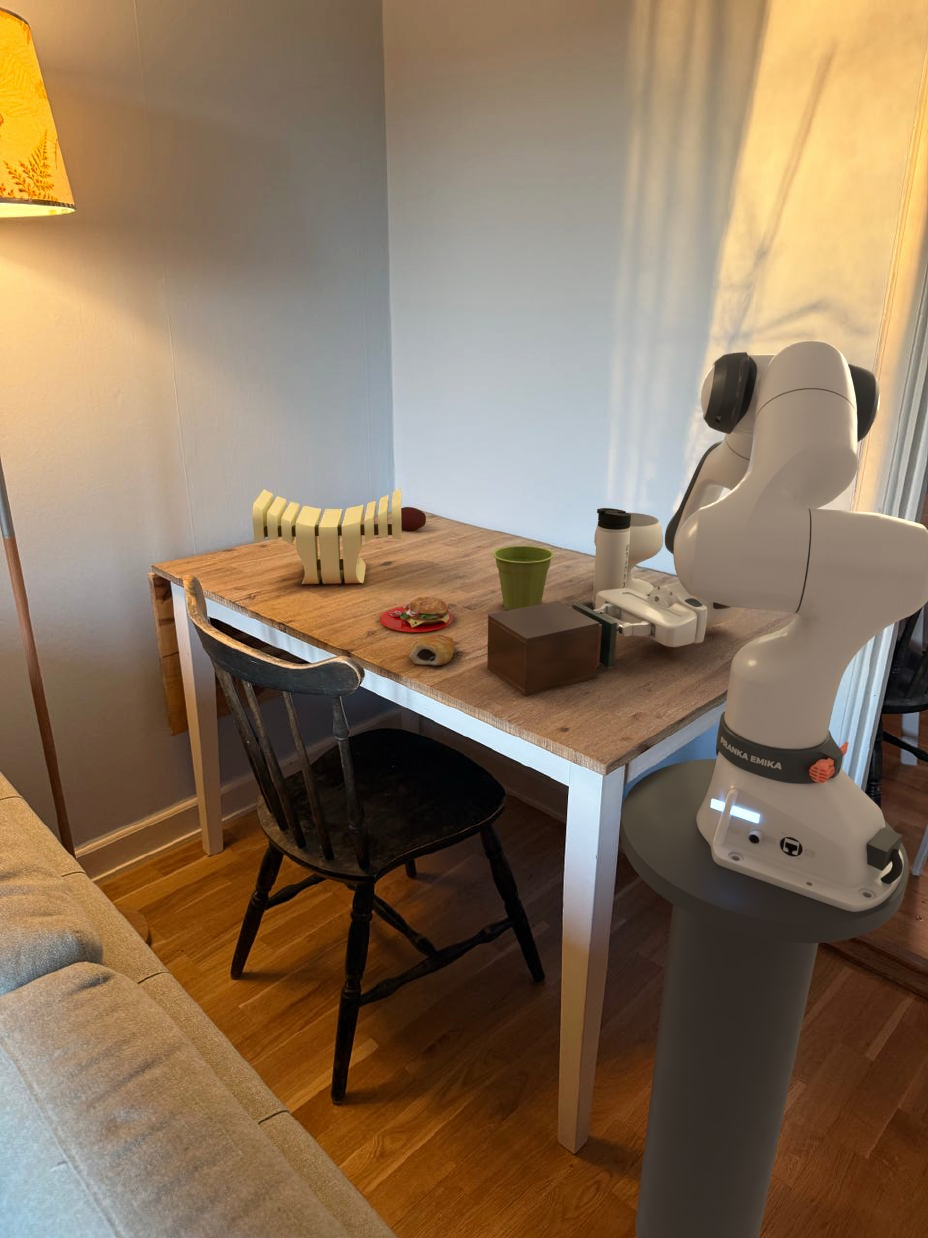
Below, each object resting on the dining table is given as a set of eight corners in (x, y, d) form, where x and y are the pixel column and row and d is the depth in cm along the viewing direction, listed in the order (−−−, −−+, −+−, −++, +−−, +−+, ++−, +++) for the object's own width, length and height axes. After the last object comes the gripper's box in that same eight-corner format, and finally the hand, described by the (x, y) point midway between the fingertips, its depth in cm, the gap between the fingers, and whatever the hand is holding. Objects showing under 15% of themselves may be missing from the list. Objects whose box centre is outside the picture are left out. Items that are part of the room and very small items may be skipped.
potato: (411, 524, 223) (411, 502, 221) (431, 530, 216) (431, 508, 214) (388, 528, 218) (388, 506, 216) (409, 535, 212) (408, 512, 210)
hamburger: (439, 603, 165) (438, 574, 163) (464, 627, 153) (464, 597, 151) (371, 612, 161) (370, 582, 158) (391, 638, 148) (390, 606, 146)
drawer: (596, 640, 145) (598, 598, 143) (634, 661, 137) (638, 617, 134) (515, 658, 138) (516, 615, 135) (550, 682, 129) (552, 636, 127)
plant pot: (556, 600, 167) (558, 547, 163) (545, 621, 156) (548, 564, 152) (499, 595, 170) (500, 542, 166) (485, 615, 159) (486, 559, 155)
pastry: (427, 643, 146) (427, 623, 145) (463, 648, 144) (464, 628, 143) (407, 664, 138) (407, 643, 136) (445, 670, 136) (445, 648, 134)
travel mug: (585, 604, 165) (591, 506, 158) (615, 600, 167) (622, 503, 160) (599, 614, 160) (605, 513, 152) (629, 611, 161) (637, 511, 154)
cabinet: (554, 652, 143) (557, 600, 139) (596, 678, 133) (599, 622, 130) (487, 668, 136) (487, 614, 133) (525, 696, 127) (526, 638, 123)
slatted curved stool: (259, 589, 173) (251, 506, 166) (270, 566, 187) (263, 489, 181) (402, 587, 174) (400, 504, 168) (403, 564, 189) (400, 487, 183)
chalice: (654, 603, 166) (661, 530, 160) (585, 595, 170) (589, 524, 164) (662, 582, 178) (668, 514, 172) (597, 575, 182) (602, 508, 177)
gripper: (632, 576, 152) (571, 587, 146) (714, 610, 135) (649, 625, 129) (630, 608, 154) (569, 621, 148) (709, 646, 138) (645, 662, 131)
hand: (607, 623), depth 138 cm, fingers closed on drawer, 6 cm apart
